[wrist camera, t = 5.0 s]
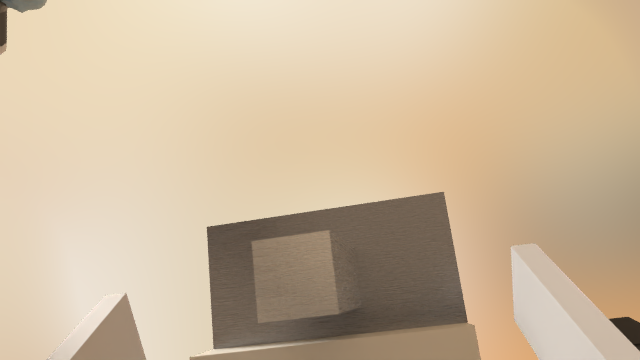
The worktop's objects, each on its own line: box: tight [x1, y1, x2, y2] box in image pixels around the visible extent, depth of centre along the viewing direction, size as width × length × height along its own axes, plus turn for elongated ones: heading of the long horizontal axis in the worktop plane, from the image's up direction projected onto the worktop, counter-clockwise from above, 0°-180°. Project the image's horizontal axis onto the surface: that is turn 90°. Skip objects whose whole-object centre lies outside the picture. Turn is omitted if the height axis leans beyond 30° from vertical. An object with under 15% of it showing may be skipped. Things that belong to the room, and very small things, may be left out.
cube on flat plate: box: [207, 192, 468, 349], centre depth 25 cm, size 13×14×7 cm
